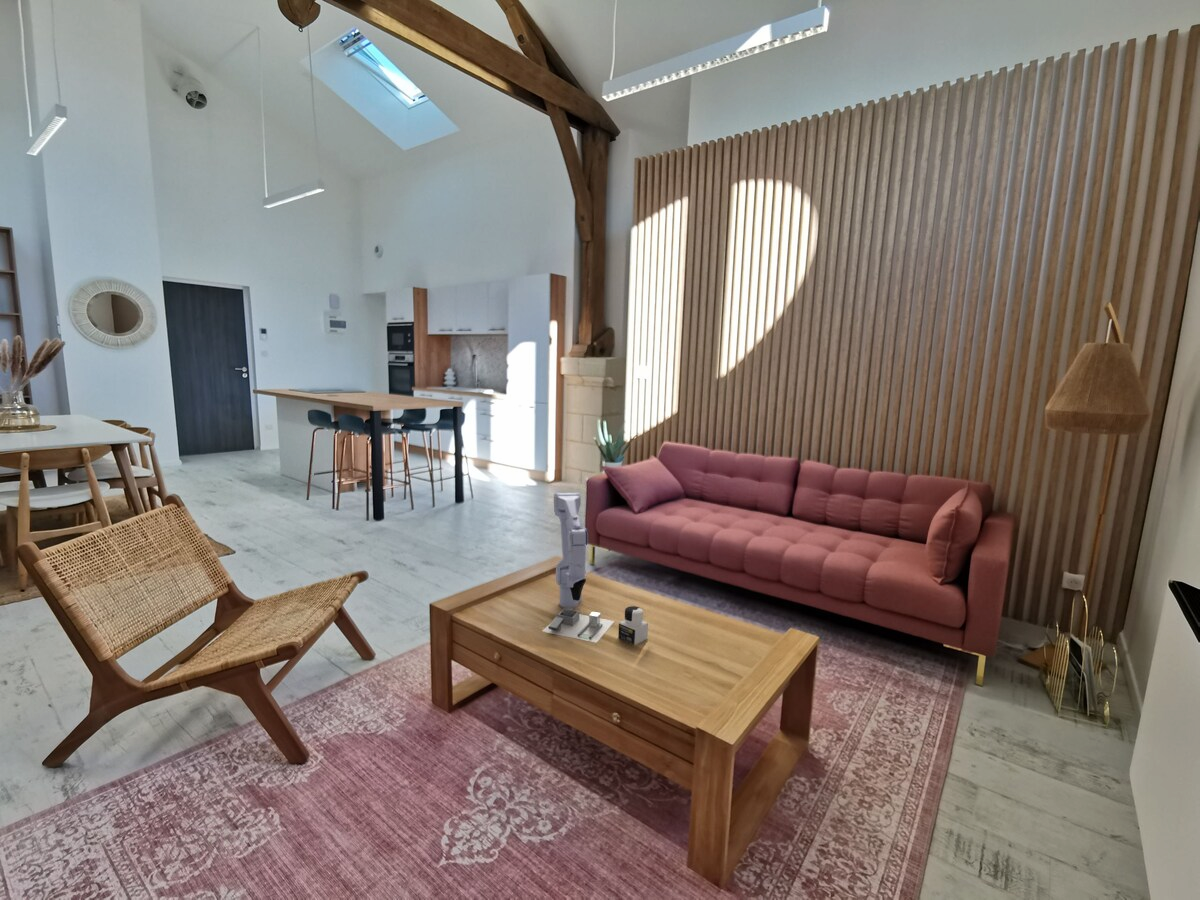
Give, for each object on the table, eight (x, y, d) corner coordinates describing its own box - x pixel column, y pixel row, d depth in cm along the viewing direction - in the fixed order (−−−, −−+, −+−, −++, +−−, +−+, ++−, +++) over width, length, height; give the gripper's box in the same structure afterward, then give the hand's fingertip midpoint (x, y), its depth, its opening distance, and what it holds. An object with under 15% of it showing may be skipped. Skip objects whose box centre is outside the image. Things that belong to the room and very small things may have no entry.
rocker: (556, 619, 204) (555, 616, 204) (563, 620, 203) (563, 618, 203) (548, 628, 199) (548, 626, 199) (556, 630, 198) (556, 628, 198)
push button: (565, 616, 211) (565, 606, 210) (575, 618, 209) (576, 608, 209) (560, 621, 207) (561, 610, 207) (571, 623, 206) (571, 612, 205)
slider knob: (592, 622, 207) (592, 611, 206) (600, 624, 206) (600, 613, 205) (588, 625, 204) (589, 615, 203) (597, 627, 203) (597, 616, 202)
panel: (563, 615, 217) (563, 603, 216) (614, 624, 210) (614, 613, 209) (541, 635, 200) (541, 623, 199) (596, 646, 193) (596, 634, 192)
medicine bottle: (617, 642, 197) (618, 608, 195) (631, 635, 202) (632, 602, 200) (634, 649, 192) (635, 614, 190) (647, 642, 197) (649, 608, 195)
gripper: (573, 555, 214) (572, 590, 216) (559, 567, 200) (558, 605, 202) (591, 557, 212) (590, 593, 214) (578, 570, 198) (577, 608, 200)
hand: (576, 599), depth 208 cm, fingers closed
